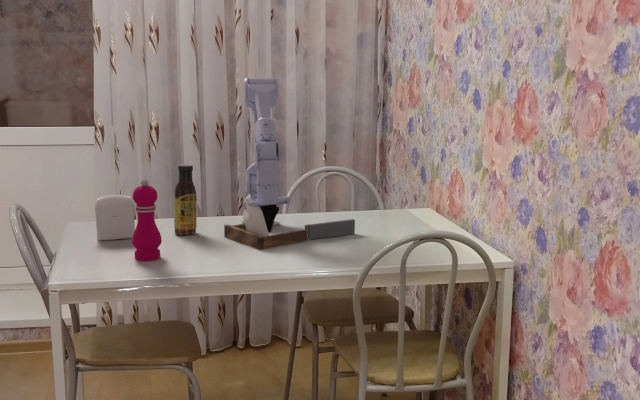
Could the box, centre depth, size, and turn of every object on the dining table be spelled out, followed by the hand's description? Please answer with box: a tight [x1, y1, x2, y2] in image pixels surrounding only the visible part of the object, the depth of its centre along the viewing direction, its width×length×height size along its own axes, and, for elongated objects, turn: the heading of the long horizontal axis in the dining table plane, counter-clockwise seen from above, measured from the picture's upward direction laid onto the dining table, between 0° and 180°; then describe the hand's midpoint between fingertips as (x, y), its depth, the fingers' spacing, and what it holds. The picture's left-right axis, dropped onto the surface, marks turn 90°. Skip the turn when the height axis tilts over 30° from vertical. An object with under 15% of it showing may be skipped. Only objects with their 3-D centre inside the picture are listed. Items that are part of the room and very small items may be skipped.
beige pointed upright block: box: [242, 197, 270, 237], centre depth 193 cm, size 6×12×6 cm
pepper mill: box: [131, 178, 163, 262], centre depth 175 cm, size 7×7×20 cm
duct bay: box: [223, 223, 309, 251], centre depth 197 cm, size 17×17×4 cm
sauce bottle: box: [173, 163, 198, 236], centre depth 200 cm, size 6×6×20 cm
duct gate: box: [307, 218, 356, 240], centre depth 199 cm, size 15×1×4 cm, turn 120°
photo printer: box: [94, 194, 136, 242], centre depth 195 cm, size 10×4×12 cm, turn 108°
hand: (267, 231), depth 197 cm, fingers closed
